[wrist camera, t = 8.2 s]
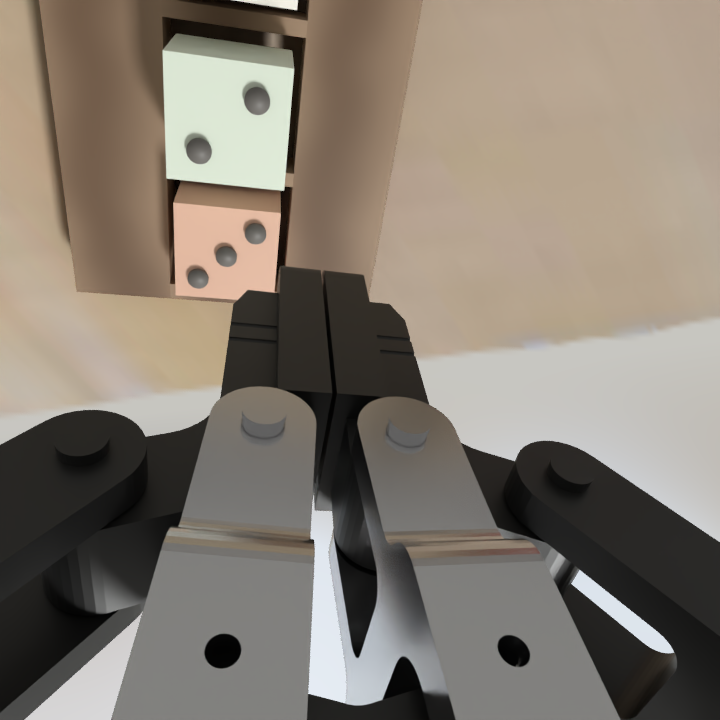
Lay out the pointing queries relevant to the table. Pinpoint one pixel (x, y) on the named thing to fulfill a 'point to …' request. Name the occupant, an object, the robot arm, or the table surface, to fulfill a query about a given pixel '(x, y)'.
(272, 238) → the pink dotted block
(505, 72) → the table surface
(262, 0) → the white block with hole
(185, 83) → the pale green dotted block
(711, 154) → the table surface
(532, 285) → the table surface
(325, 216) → the socket board
